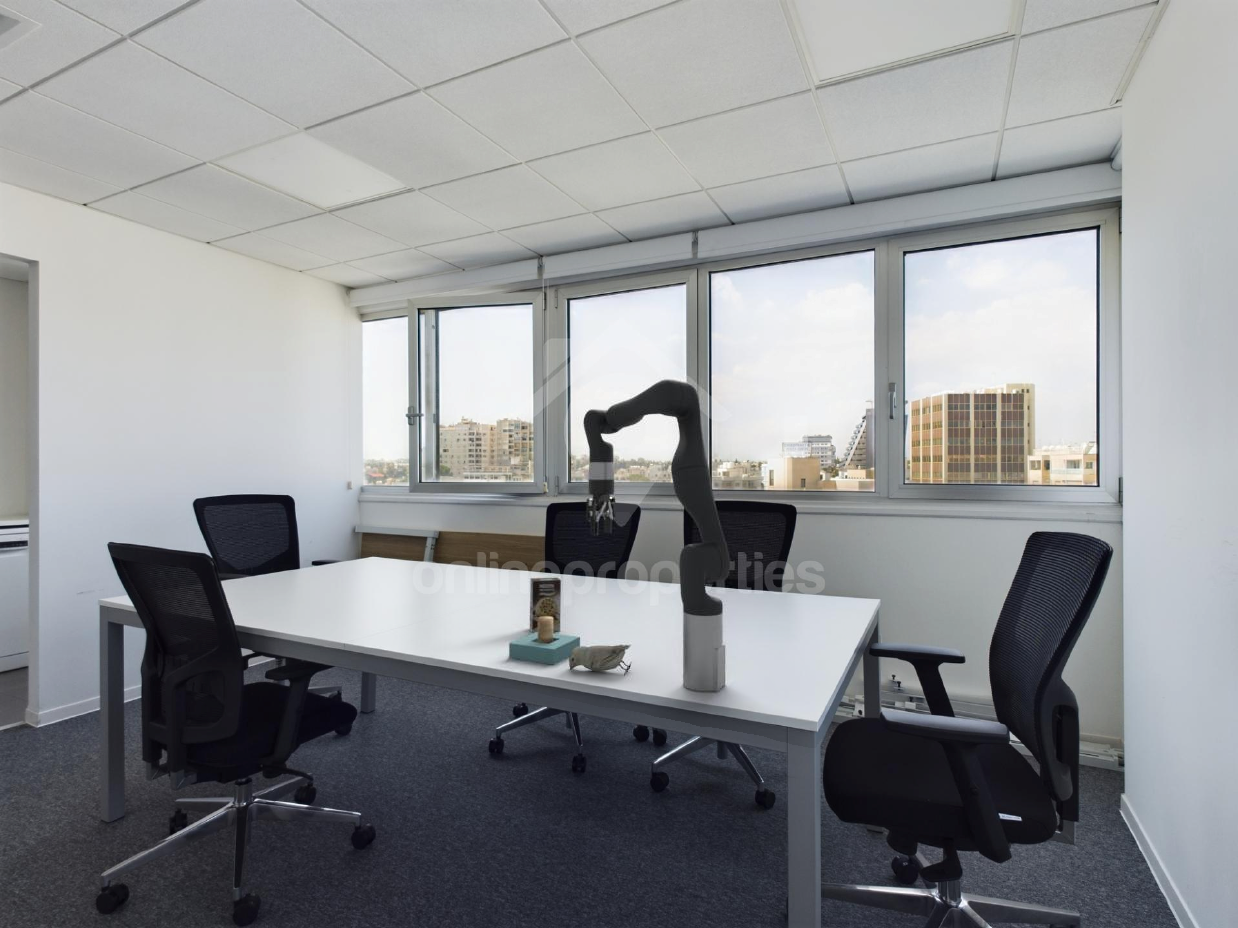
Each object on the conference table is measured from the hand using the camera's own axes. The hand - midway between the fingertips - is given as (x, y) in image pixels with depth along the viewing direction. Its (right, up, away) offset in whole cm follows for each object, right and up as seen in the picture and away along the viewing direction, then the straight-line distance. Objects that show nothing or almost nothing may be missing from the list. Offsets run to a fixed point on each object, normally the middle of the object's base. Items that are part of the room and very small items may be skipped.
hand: (601, 533), depth 188 cm
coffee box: (-18, -33, +17) cm, 41 cm away
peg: (-15, -32, -11) cm, 37 cm away
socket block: (-15, -32, -11) cm, 37 cm away
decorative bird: (0, -32, -26) cm, 41 cm away
